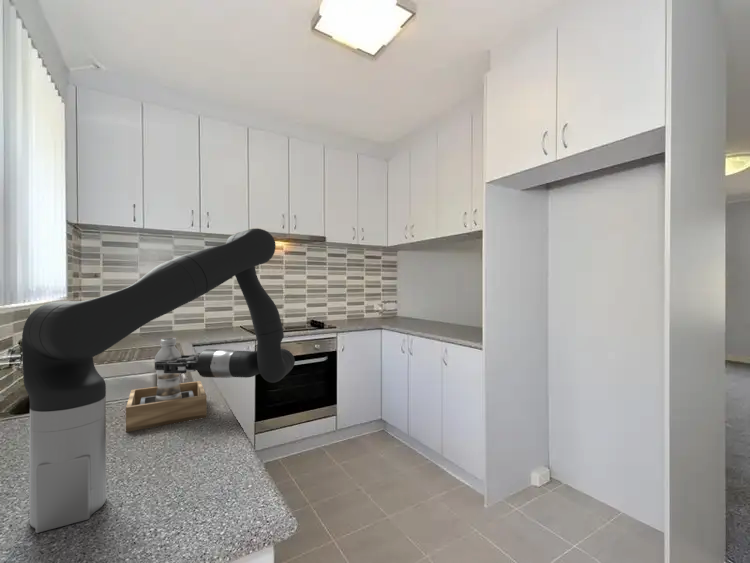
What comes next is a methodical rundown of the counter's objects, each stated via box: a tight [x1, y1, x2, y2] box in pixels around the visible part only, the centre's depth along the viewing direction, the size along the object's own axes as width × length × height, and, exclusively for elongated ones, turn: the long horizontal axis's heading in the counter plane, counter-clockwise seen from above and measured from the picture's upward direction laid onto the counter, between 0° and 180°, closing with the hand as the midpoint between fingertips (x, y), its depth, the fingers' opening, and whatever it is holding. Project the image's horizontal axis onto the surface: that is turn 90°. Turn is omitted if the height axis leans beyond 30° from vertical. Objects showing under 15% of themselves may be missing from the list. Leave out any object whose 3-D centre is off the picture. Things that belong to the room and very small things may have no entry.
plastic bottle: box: [154, 337, 182, 402], centre depth 100 cm, size 6×7×20 cm
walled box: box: [125, 380, 208, 433], centre depth 100 cm, size 18×18×6 cm
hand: (167, 362), depth 100 cm, fingers open, 8 cm apart
